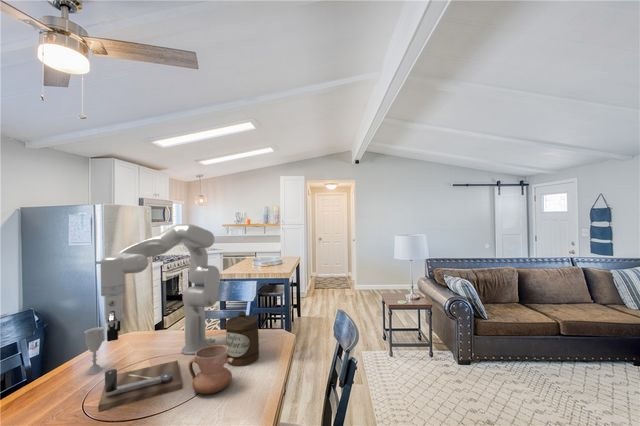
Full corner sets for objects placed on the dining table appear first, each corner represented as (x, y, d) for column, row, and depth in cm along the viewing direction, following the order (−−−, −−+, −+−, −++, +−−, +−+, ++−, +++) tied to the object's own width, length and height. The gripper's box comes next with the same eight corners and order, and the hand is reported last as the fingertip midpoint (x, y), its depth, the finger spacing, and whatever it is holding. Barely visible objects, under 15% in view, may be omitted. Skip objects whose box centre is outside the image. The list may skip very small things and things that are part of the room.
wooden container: (219, 363, 133) (218, 314, 133) (239, 349, 147) (239, 305, 147) (246, 369, 127) (245, 318, 128) (265, 354, 141) (264, 308, 142)
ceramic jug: (240, 378, 120) (239, 343, 120) (225, 399, 105) (224, 359, 106) (199, 377, 122) (199, 342, 123) (178, 397, 108) (178, 358, 108)
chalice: (92, 376, 123) (92, 333, 124) (79, 375, 125) (79, 332, 125) (108, 368, 131) (108, 327, 131) (96, 366, 132) (96, 326, 132)
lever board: (177, 364, 132) (177, 359, 132) (181, 388, 113) (181, 382, 113) (107, 381, 119) (107, 376, 119) (98, 411, 100) (98, 404, 100)
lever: (172, 375, 118) (172, 355, 118) (173, 380, 114) (173, 360, 114) (105, 392, 107) (105, 370, 108) (103, 398, 103) (103, 375, 104)
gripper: (123, 293, 103) (124, 341, 103) (127, 284, 118) (127, 326, 118) (97, 296, 100) (98, 346, 99) (104, 286, 115) (104, 330, 114)
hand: (114, 335), depth 109 cm, fingers open, 9 cm apart
